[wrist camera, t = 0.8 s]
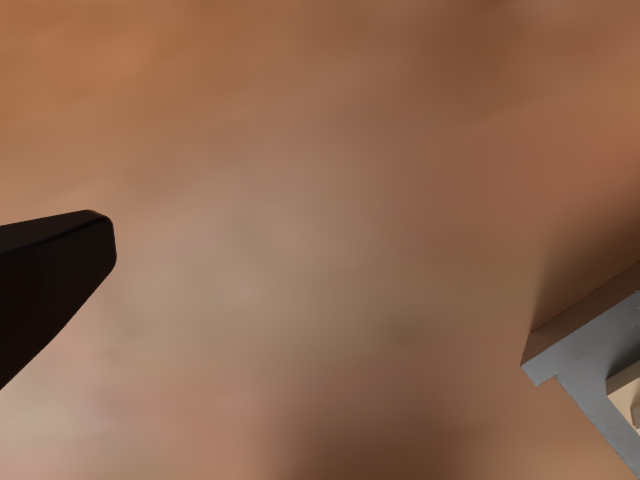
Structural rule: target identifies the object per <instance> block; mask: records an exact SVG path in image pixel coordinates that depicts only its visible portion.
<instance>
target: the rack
mask: <svg viewBox="0 0 640 480" xmlns="http://www.w3.org/2000/svg"><path fill="white" fill-rule="evenodd" d="M639 360H640V261H639V262H637V263H636V264H634V265H633V266H631V267H630V268H628V269H627V270H625V271H624V272H622V273H621V274H619V275H618V276H616V277H615V278H613V279H612V280H610V281H609V282H607V283H606V284H604V285H603V286H601V287H600V288H598V289H597V290H595V291H594V292H592V293H590V294H589V295H587V296H586V297H584V298H583V299H581V300H580V301H578V302H577V303H575V304H574V305H572V306H571V307H569V308H568V309H566V310H565V311H563V312H562V313H560V314H559V315H557V316H556V317H554V318H553V319H551V320H550V321H548V322H547V323H545V324H544V325H542V326H541V327H539V328H538V329H536V330H535V331H533V332H532V333H530V334H529V335H528V339H527V342H526V346H525V350H524V353H523V357H522V361H521V364H520V367H521V368H522V370H523V371H524V372H525V373H526V374H527V376H528V377H529V378H530V379H531V381H532V382H533V383H534V384H535V386H536V387H537V386H538V385H540V384H541V383H543V382H545V381H546V380H548V379H550V378H551V377H553V376H554V377H555V378H556V379H557V381H558V382H559V383H560V384H561V385H562V387H563V388H564V389H565V390H566V392H567V393H568V394H569V395H570V396H571V398H572V399H573V400H574V401H575V403H576V404H577V405H578V406H579V407H580V409H581V410H582V411H583V412H584V414H585V415H586V416H587V417H588V418H589V420H590V421H591V422H592V423H593V425H594V426H595V427H596V428H597V429H598V431H599V432H600V433H601V434H602V436H603V437H604V438H605V439H606V440H607V442H608V443H609V444H610V445H611V446H612V448H613V449H614V450H615V451H616V453H617V454H618V455H619V456H620V457H621V459H622V460H623V461H624V462H625V464H626V465H627V466H628V467H629V468H630V470H631V471H632V472H633V473H634V475H635V476H636V477H637V478H638V479H639V480H640V436H639V434H638V433H637V432H636V431H635V430H634V428H633V427H632V426H631V425H630V424H629V422H628V421H627V420H626V419H625V418H624V416H623V415H622V414H621V413H620V412H619V410H618V409H617V408H616V407H615V406H614V404H613V403H612V402H611V401H610V399H609V398H608V397H607V394H606V383H605V380H607V379H609V378H610V377H612V376H614V375H615V374H617V373H619V372H620V371H622V370H624V369H626V368H627V367H629V366H631V365H632V364H634V363H636V362H637V361H639Z"/></svg>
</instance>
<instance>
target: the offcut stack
mask: <svg viewBox="0 0 640 480" xmlns="http://www.w3.org/2000/svg"><path fill="white" fill-rule="evenodd" d="M605 383H606V394H607V397H608V398H609V399H610V401H611V402H612V403H613V404H614V406H615V407H616V408H617V409H618V410H619V412H620V413H621V414H622V415H623V416H624V418H625V419H626V420H627V421H628V422H629V424H630V425H631V426H632V427H633V428H634V430H635V431H636V432H637V433H638V434H639V436H640V360H639V361H637V362H636V363H634V364H632V365H631V366H629V367H627V368H626V369H624V370H622V371H620V372H619V373H617V374H615V375H614V376H612V377H610V378H609V379H607V380H605Z"/></svg>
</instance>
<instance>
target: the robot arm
mask: <svg viewBox="0 0 640 480" xmlns="http://www.w3.org/2000/svg"><path fill="white" fill-rule="evenodd" d="M116 259H117V253H116V245H115V236H114V228H113V223H112V221H111V220H110V218H108V217H107V216H105V215H102V214H100V213H98V212H95V211H93V210H81V211H76V212H71V213H65V214H60V215H55V216H49V217H44V218H39V219H34V220H28V221H23V222H18V223H12V224H7V225H2V226H0V390H1V389H2V388H3V387H4V386H5V385H6V384H7V383H8V382H9V381H11V380H12V379H13V378H14V377H15V376H16V375H17V374H18V373H19V372H20V371H21V370H22V369H23V368H24V367H25V366H26V365H27V364H28V363H29V362H30V361H31V360H32V359H33V358H34V357H35V356H36V355H37V354H38V353H39V352H40V351H41V350H43V349H44V348H45V347H46V346H47V345H48V344H49V343H50V342H51V341H52V340H53V339H54V337H55V336H56V335H57V334H58V333H59V332H60V331H61V330H62V329H63V328H64V326H65V325H66V324H67V323H68V322H69V321H70V319H71V318H72V317H73V316H74V315H75V314H76V312H77V311H78V310H79V309H80V308H81V307H82V305H83V304H84V303H85V302H86V301H87V299H88V298H89V297H90V296H91V295H92V294H93V292H94V291H95V290H96V289H97V288H98V287H99V285H100V284H101V283H102V282H103V281H104V279H105V278H106V277H107V276H108V275H109V274H110V272H111V271H112V270H113V268H114V266H115V263H116Z"/></svg>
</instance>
